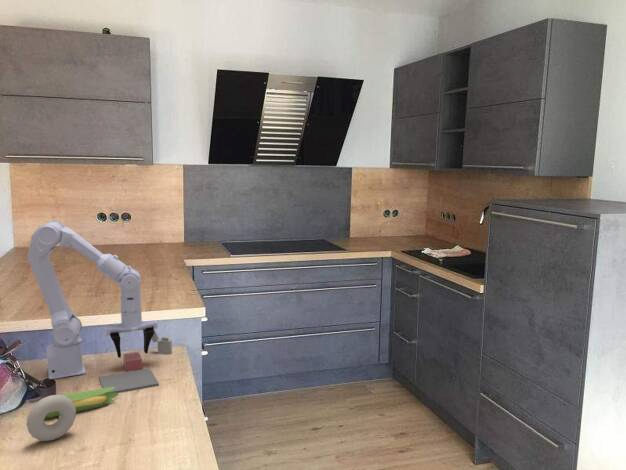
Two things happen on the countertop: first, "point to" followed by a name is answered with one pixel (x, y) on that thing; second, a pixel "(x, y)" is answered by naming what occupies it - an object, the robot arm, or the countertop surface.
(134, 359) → the pink rectangular block
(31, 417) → the donut
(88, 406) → the edible corn
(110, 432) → the countertop surface
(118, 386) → the mat
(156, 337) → the lighter
